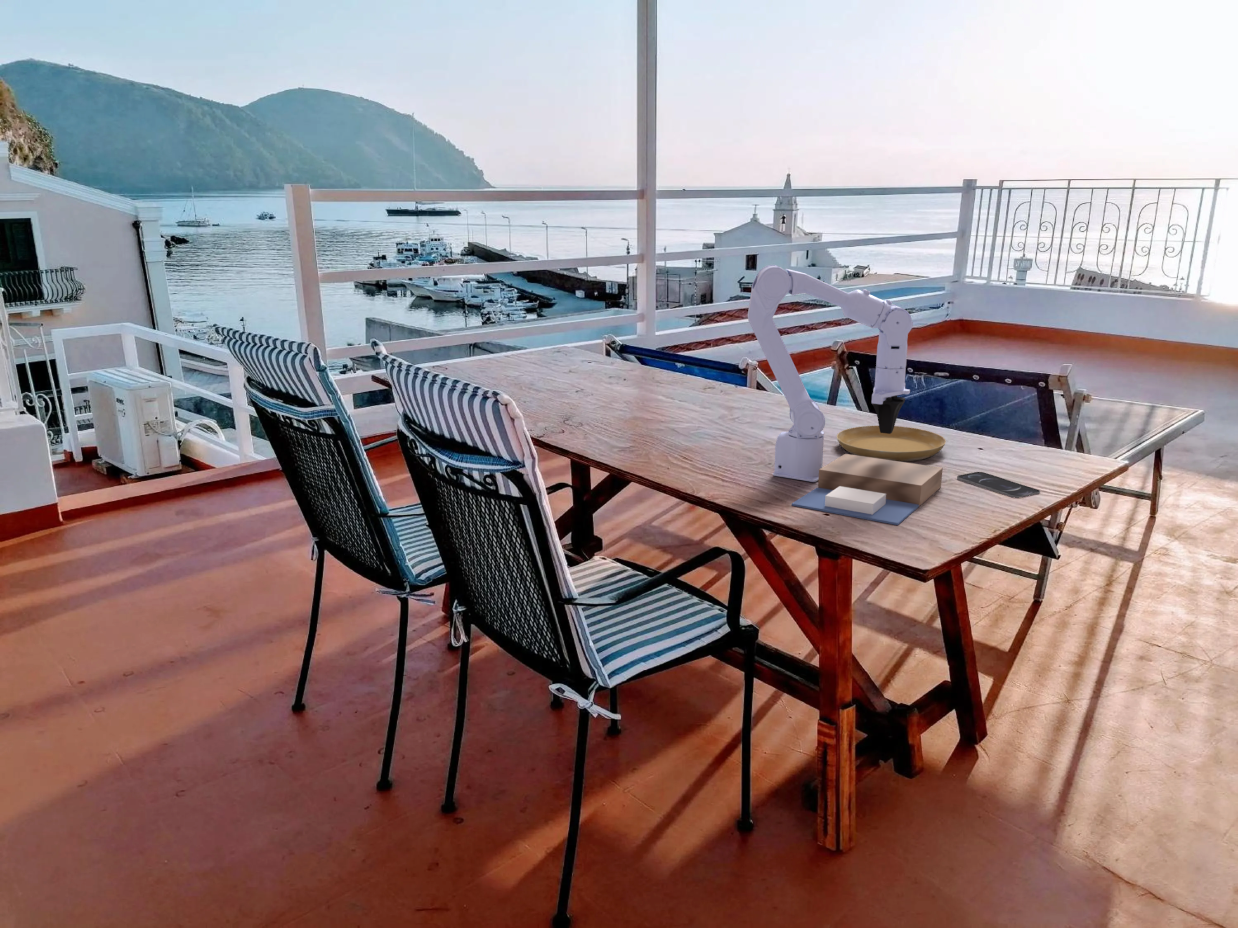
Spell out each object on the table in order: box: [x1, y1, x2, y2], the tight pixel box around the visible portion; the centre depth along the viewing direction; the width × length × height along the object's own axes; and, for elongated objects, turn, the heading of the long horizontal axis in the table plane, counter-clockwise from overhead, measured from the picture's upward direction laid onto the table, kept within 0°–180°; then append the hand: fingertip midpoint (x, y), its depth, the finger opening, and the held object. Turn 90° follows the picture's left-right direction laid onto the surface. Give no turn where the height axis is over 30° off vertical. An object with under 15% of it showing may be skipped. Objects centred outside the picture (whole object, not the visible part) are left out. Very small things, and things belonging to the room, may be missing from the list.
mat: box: [791, 486, 920, 526], centre depth 157 cm, size 20×12×1 cm, turn 54°
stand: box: [817, 453, 944, 507], centre depth 167 cm, size 20×14×4 cm
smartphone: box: [956, 471, 1041, 499], centre depth 167 cm, size 8×1×15 cm
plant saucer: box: [836, 425, 947, 462], centre depth 195 cm, size 24×24×3 cm
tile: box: [825, 486, 886, 515], centre depth 156 cm, size 9×7×2 cm
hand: (886, 432), depth 172 cm, fingers closed
